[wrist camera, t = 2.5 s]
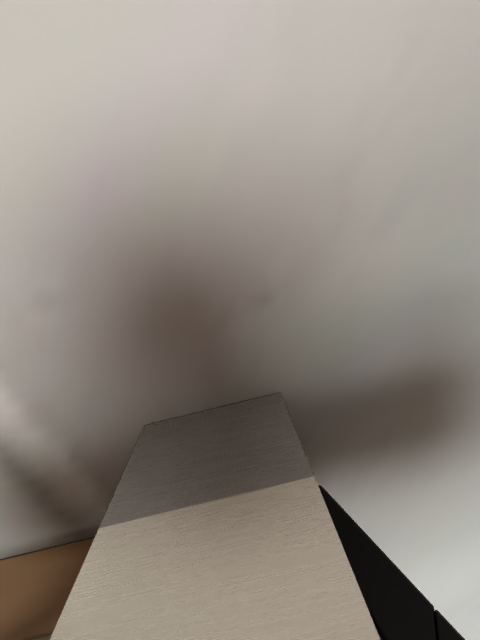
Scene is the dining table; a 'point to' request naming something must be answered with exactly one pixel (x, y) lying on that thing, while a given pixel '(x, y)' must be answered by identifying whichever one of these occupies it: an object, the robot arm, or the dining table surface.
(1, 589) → the riser
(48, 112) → the dining table surface
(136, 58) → the dining table surface
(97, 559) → the block
